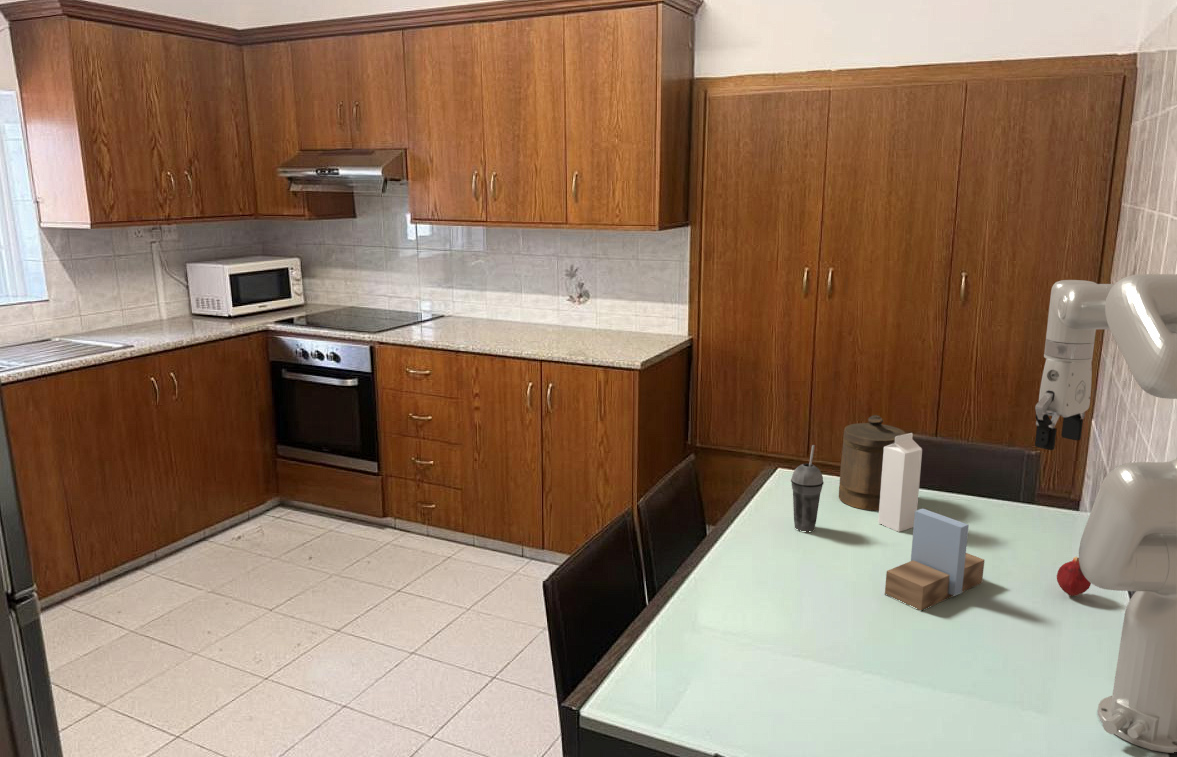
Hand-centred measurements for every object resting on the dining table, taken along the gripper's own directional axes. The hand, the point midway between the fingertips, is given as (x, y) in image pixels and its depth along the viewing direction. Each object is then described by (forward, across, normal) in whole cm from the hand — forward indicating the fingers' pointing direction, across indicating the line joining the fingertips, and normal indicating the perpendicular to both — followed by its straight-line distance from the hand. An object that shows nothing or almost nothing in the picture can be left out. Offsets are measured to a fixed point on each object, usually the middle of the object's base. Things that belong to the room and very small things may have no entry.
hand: (1057, 443), depth 155 cm
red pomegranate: (+32, +9, -2) cm, 33 cm away
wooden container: (+31, +20, +53) cm, 65 cm away
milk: (+32, +12, +39) cm, 52 cm away
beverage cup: (+32, -6, +51) cm, 60 cm away
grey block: (+31, -10, +16) cm, 36 cm away
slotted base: (+32, -10, +16) cm, 37 cm away
